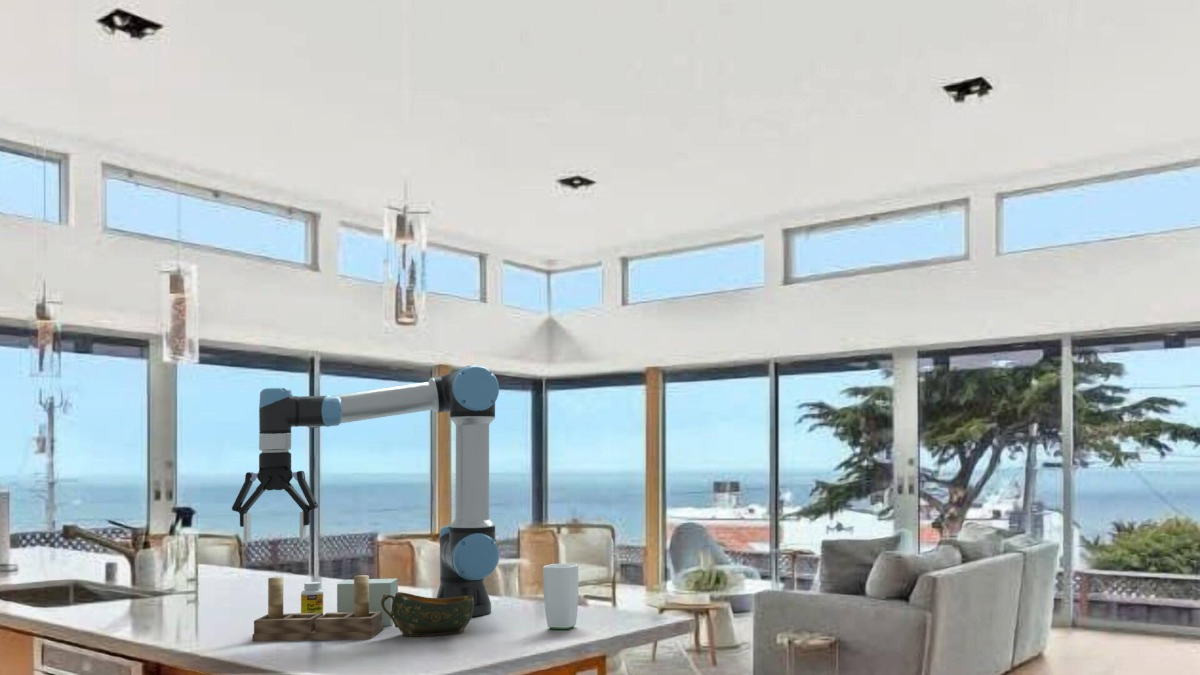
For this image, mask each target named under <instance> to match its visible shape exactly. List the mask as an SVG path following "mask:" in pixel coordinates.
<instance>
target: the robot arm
mask: <svg viewBox="0 0 1200 675" xmlns="http://www.w3.org/2000/svg"><path fill="white" fill-rule="evenodd" d="M499 393H500V384H499V381H498V379H497V377H496V376H495V374H494V373H493V372H492V371H491V370H490V369H488V368H486V367H485V366H481V365H475V364H473V365H466V366H464V367H461V368H459V369H457V370H455V371H452V372H450V373H446V374H443V375H439V376H432V377H430V378H429V379H428V381H425V382H418V383H410V384H404V385H403V384H402V385H396V386H391V387H382V388H376V389H368V390H363V391H356V392H354V391H353V392H348V393H343V394H342V393H341V394H335V395H308V396H307V395H305V396H304V395H303V396H298V395H297V396H296V395H293V393H292V390H291V388H289V387H287V388H286V387H271V388H270V387H268V388H263V389H262V390H261V391H260V393H259V406H258V407H259V408H258V409H259V410H258V412H259V414H258V421H259V423H258V425H259V434H258V435H259V437H258V443H259V444H258V450H259V451H261V452H260V453H259V454H258V472H253V471H251V472H250V471H247V472H246V473H245V475H244V476H245V479H244V482H243V485H242V486H241V488H240V490H239V492H238V494H237V497H236V499H235V500H234V503H233V505H232V507H231V510H232V511H233V512H237V513H238V514H239V527H241V528H242V527H243V542H248V541H251V537H252V536H251V525H252V524H251V523H252V522H251V521H252V520H251V519H252V518H251V517H252V514H251V512H249V510H250V509H251V508H252V507H253V506H254V504H255V503H256V502H257V500H259V498H260V497H261V496H262V495H263V493H264V492H265V491H274V490H275V491H283V490H284V491H285V492H286V493H287V494H288V495H289V496H290V497H291V498H292V499H293V501H294V502H295V503H296V504H297V505H298V507H299V508H300V509H301V510H302V511H301V512H299V541H304V540H307V526H310V524H311V511H314V510H315V509H317V508H318V507H319V505H318V502H317V501H316V499H315V496H314V494H313V493H312V491H311V488H310V486H309V485H308V482H307V480H306V476H305V474H306V473H305V471H304V470H299V471H294V472H293V471H292V453H291V452H290V451H291V450H292V427H294V428H295V427H307V428H309V429H316V428H320V427H326V428H329V427H334V426H335V427H337V426H339V425H340V424H345V423H353V422H358V421H366V420H373V419H380V418H386V417H392V416H398V415H399V416H400V415H405V414H406V415H407V414H414V413H419V412H425V411H426V412H427V411H433V413H435V414H438V413H445V412H449V419H450V420H451V421H452V422H453V423H454V425H455V519H454V520H453V521H452V522H451V523H450V524H449V525H446V526H442V527H441V529H440V530H439V537H438V541H439V577H440V578H439V581H440V582H439V589H438V591H437V594H436V597H435V598H452V597H460V596H474V610H473V614H472V617H477V616H478V617H479V616H483V615H488V614H491V612H492V602H491V599H490V596H489V593H488V590H487V587H486V584H485V578H487V577H489V575H491V574H492V573H493V572H494V571H495V569H496V568H497V566H498V564H499V561H500V550H499V546H498V544H497V542H496V524H495V523H494V522H493V520H492V519H491V518H490V424H491V423H492V422H493V421H494V420H495V419H496V402H497V399H498V397H499ZM292 479H295V481H297V483H298V485H299V487H300V490H301V491H302V493H303V496H304V497H305V499H304V498H303V497H302V496H301V495H300V494H299V493H298V491H297V490H296V489H295V487H294V486H293V484H292V483H291V480H292ZM256 480H258V481H259V482H260V484H259V485H258V486H257V487H256V488H255V490H254V492H252V494H251V495H250V497H248V499H247V500H246V498H247V496H248V494H249V491H250V489H251V488H252V486H253V483H254V482H255V481H256ZM245 500H246V501H245ZM305 500H306V501H305Z"/></svg>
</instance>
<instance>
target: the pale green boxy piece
mask: <svg viewBox="0 0 1200 675" xmlns="http://www.w3.org/2000/svg"><path fill="white" fill-rule="evenodd" d="M397 592H399V579H398V578H369V612H382V623H383V627H385V626H386V627H387V626H388V627H389V626H390V627H392V626H393V625H395V624H394V622H393V621H392V619H391V617H390V616H389V615H388V614H387V613H386V612H385V611H384V610H383V608H382V606H381V600H382V598H383V595H386V594H391V595H393V596H395V595H396V593H397ZM392 602H393V599H392V598H390V597H389V598H388V599H386V600H385V602H384V605H385V608H386V609H387V610H388V611H389V612H391V610H392ZM336 610H337V611H336V613H338V612H354V579H345V580H342V581H340V582H339V583H337V584H336ZM393 617H394V615H393Z"/></svg>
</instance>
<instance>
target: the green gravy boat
mask: <svg viewBox="0 0 1200 675" xmlns="http://www.w3.org/2000/svg"><path fill="white" fill-rule="evenodd" d="M389 597H390V598H392V599H393V602H392V610H391V612H389V611H388V610H387V609H386V608H385V605H384V602H385V600H386V599H388V598H389ZM381 606H382V608H383V610H384V611H385V612H386V613H387V614H388V615H389V616H390V617H391V619H392V621H393V622H394V624H393V625H394V627H395V628H396V629H398V630H399V631H400V633H401V634H402V637H404V638H405V637H406V638H428V637H429V638H430V637H431V638H432V637H442V636H451V635H456V634H462V633H464V630H465V628H466V627H467V626H468V624H469V623H470V621H471V619H472V617H473V616H472V614H473V610H474V596H460V597H452V598H436V597H427V596H421V595H415V594H412V593H408V592H401V591H400V592H399V591H398V592H397V593H396V595H395V596H393V595H391V594H386V595H383V598H382V600H381ZM393 615H394V617H393Z"/></svg>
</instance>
